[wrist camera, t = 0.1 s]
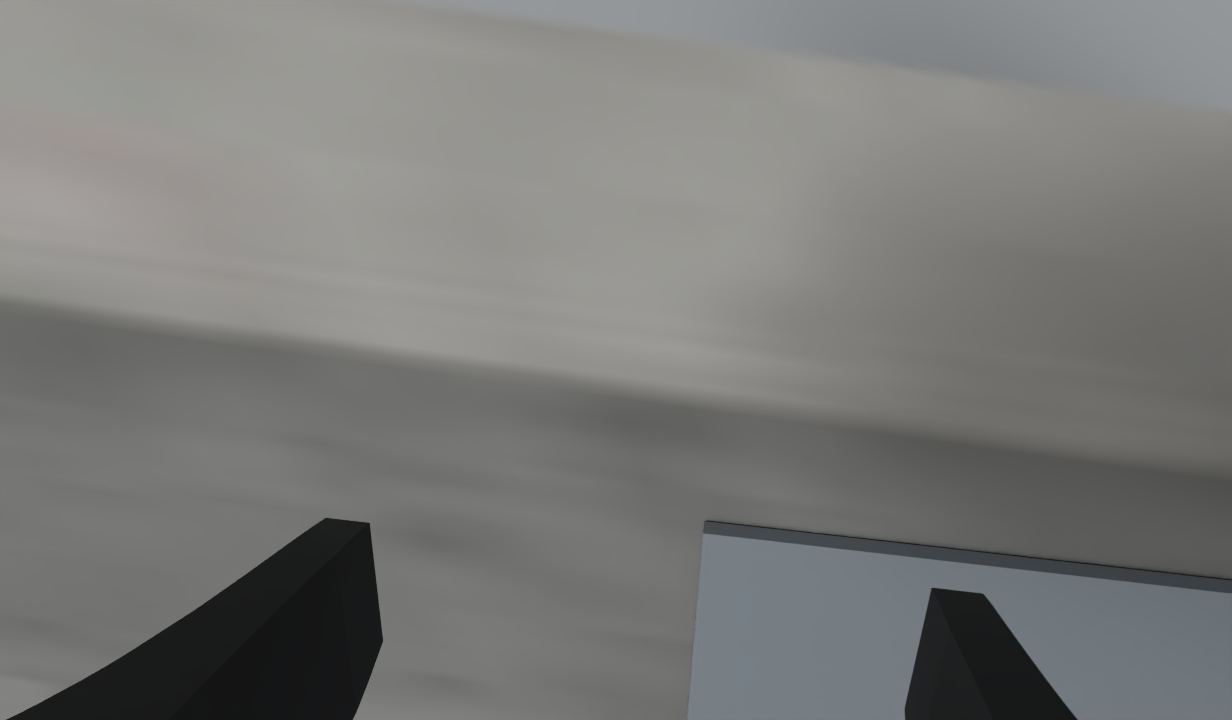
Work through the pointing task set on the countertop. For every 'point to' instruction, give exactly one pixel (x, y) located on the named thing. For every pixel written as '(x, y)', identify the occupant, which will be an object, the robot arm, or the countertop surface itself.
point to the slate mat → (894, 616)
